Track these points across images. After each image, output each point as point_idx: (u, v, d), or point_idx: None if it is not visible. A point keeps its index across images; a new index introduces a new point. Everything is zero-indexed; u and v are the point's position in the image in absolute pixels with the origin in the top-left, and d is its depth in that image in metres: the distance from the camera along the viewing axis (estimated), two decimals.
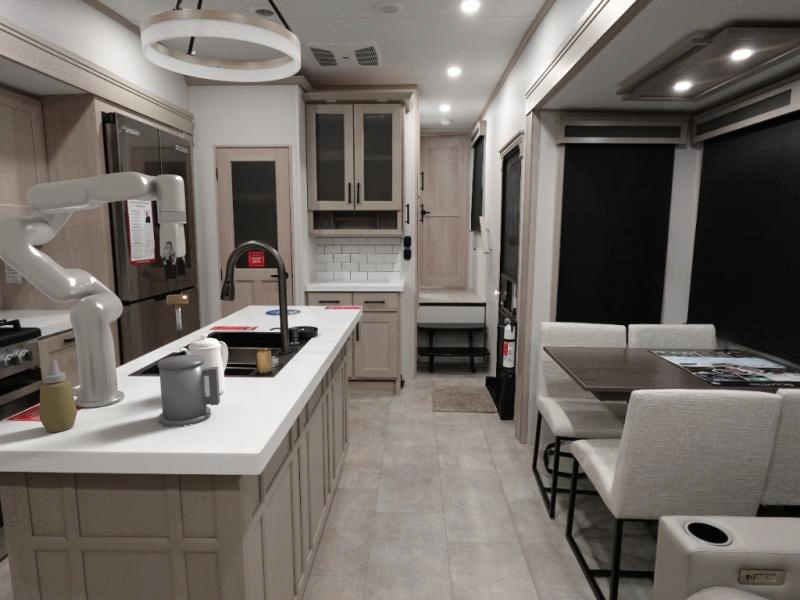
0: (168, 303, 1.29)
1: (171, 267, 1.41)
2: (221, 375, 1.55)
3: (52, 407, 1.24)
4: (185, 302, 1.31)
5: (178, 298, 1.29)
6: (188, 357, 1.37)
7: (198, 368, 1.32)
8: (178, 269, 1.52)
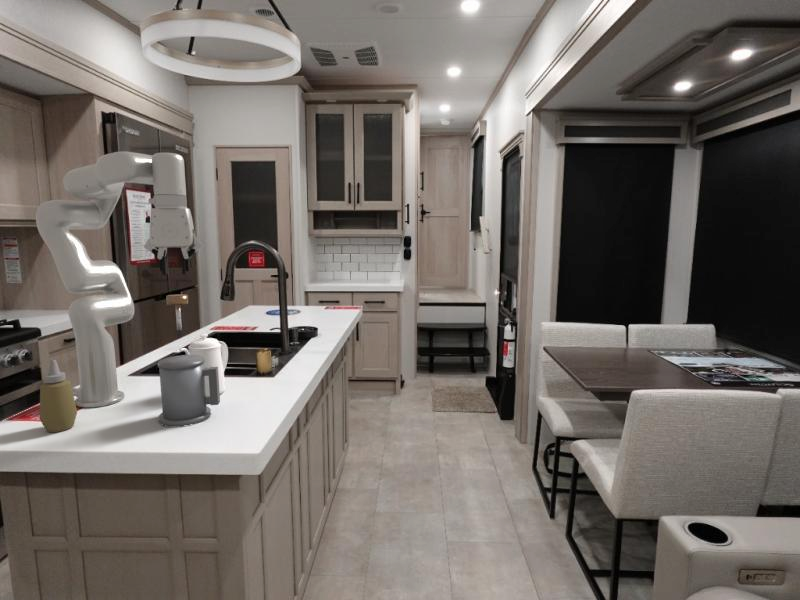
0: (168, 303, 1.29)
1: (189, 261, 1.31)
2: (221, 375, 1.55)
3: (52, 407, 1.24)
4: (185, 302, 1.31)
5: (178, 298, 1.29)
6: (188, 357, 1.37)
7: (198, 368, 1.32)
8: (166, 267, 1.30)
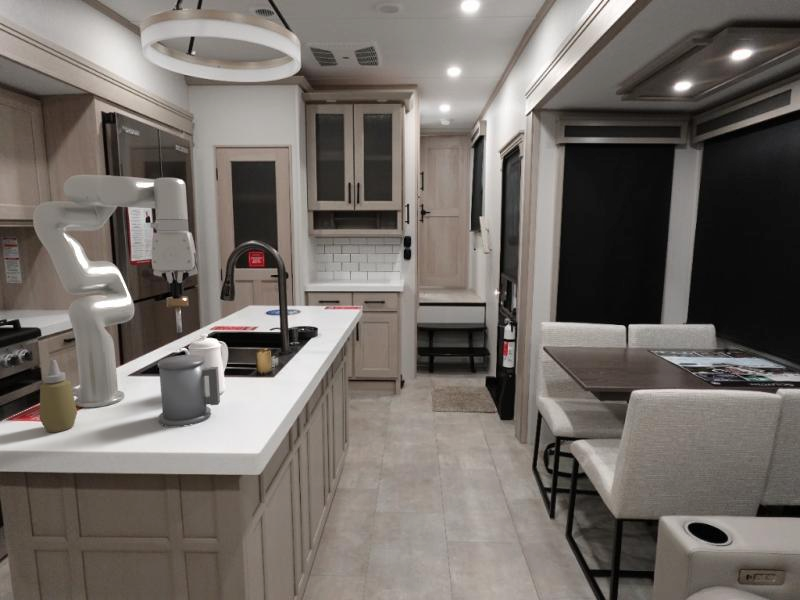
0: (168, 305, 1.29)
1: (183, 284, 1.32)
2: (221, 375, 1.55)
3: (52, 407, 1.24)
4: (185, 304, 1.31)
5: (178, 300, 1.29)
6: (188, 357, 1.37)
7: (198, 368, 1.32)
8: None
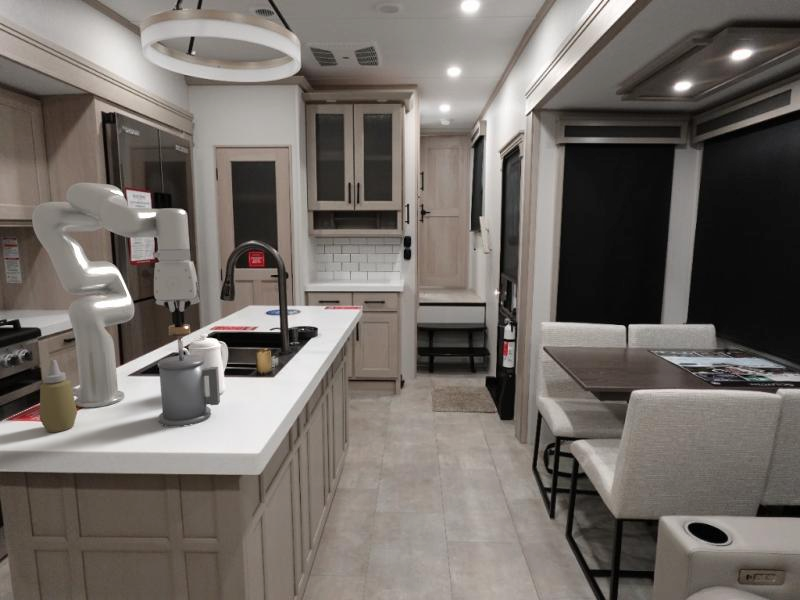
0: (170, 334, 1.31)
1: (185, 313, 1.33)
2: (221, 375, 1.55)
3: (52, 407, 1.24)
4: (187, 332, 1.32)
5: (180, 329, 1.30)
6: (188, 357, 1.37)
7: (198, 368, 1.32)
8: None
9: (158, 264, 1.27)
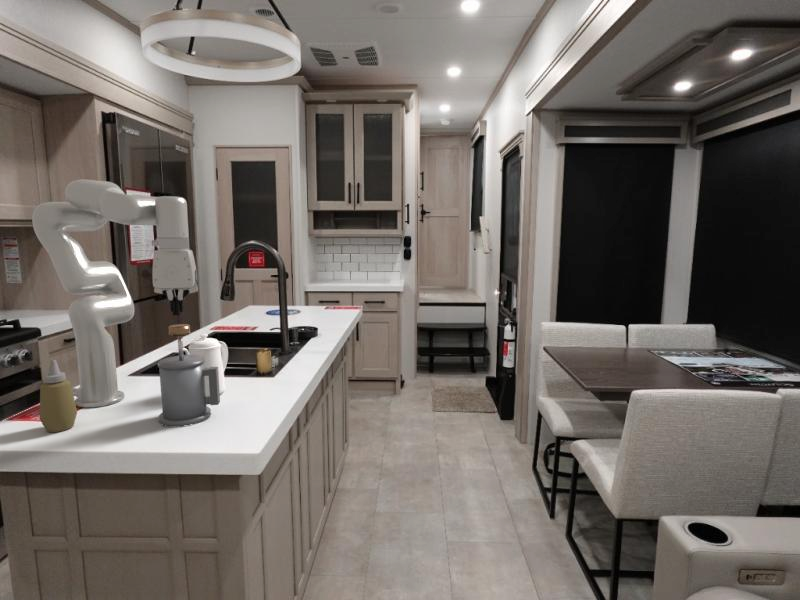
0: (170, 334, 1.31)
1: (183, 302, 1.32)
2: (221, 375, 1.55)
3: (52, 407, 1.24)
4: (187, 332, 1.32)
5: (180, 329, 1.30)
6: (188, 357, 1.37)
7: (198, 368, 1.32)
8: None
9: (157, 252, 1.27)
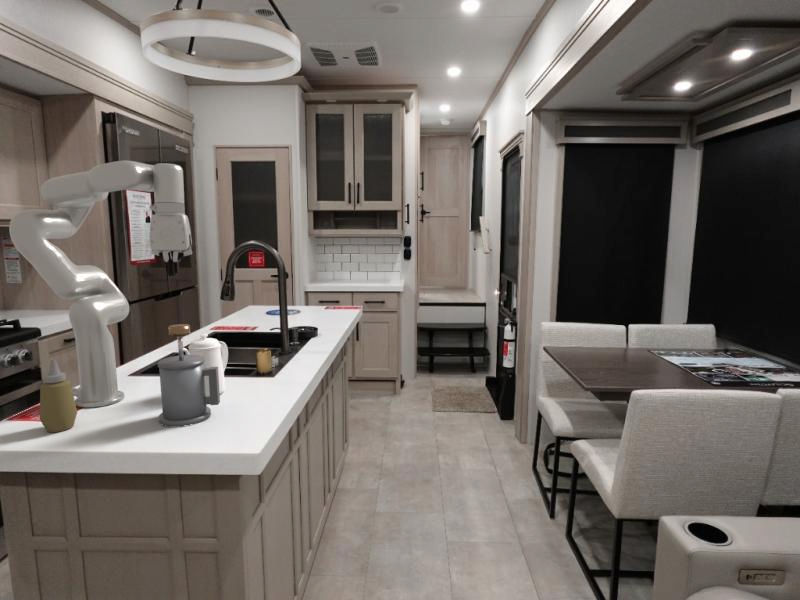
0: (170, 334, 1.31)
1: (178, 264, 1.41)
2: (221, 375, 1.55)
3: (53, 407, 1.24)
4: (187, 332, 1.32)
5: (180, 329, 1.30)
6: (188, 357, 1.37)
7: (198, 368, 1.32)
8: None
9: (154, 216, 1.36)
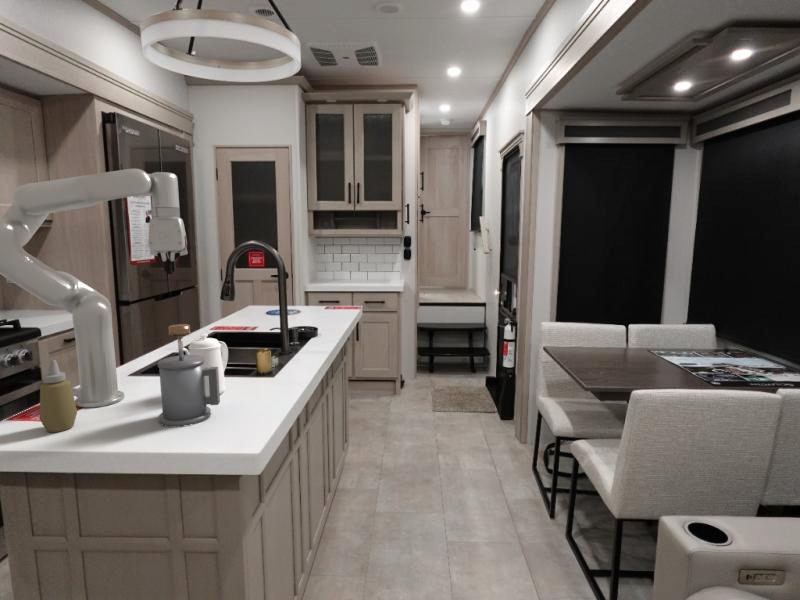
0: (170, 334, 1.31)
1: (175, 263, 1.55)
2: (221, 375, 1.55)
3: (52, 407, 1.24)
4: (187, 332, 1.32)
5: (180, 329, 1.30)
6: (188, 357, 1.37)
7: (198, 368, 1.32)
8: None
9: (152, 220, 1.50)
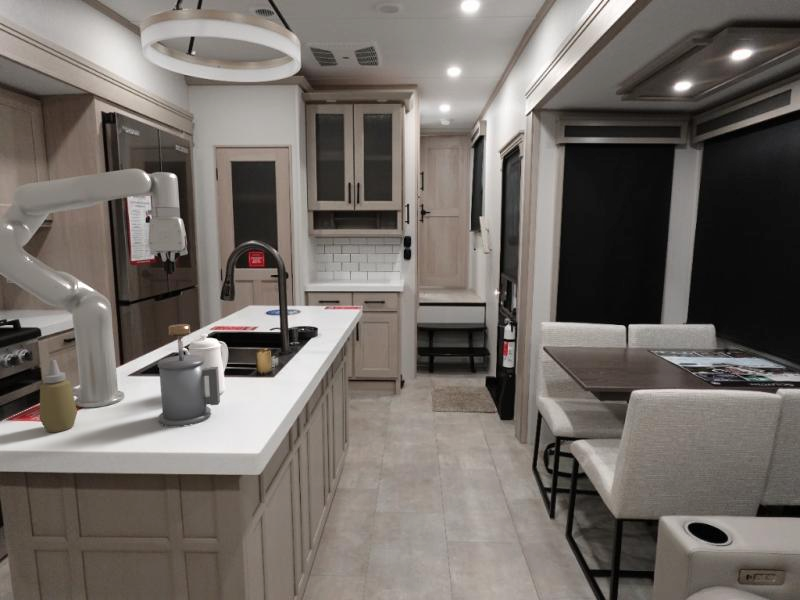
0: (170, 334, 1.31)
1: (175, 263, 1.55)
2: (221, 375, 1.55)
3: (52, 407, 1.24)
4: (187, 332, 1.32)
5: (180, 329, 1.30)
6: (188, 357, 1.37)
7: (198, 368, 1.32)
8: None
9: (152, 220, 1.50)
